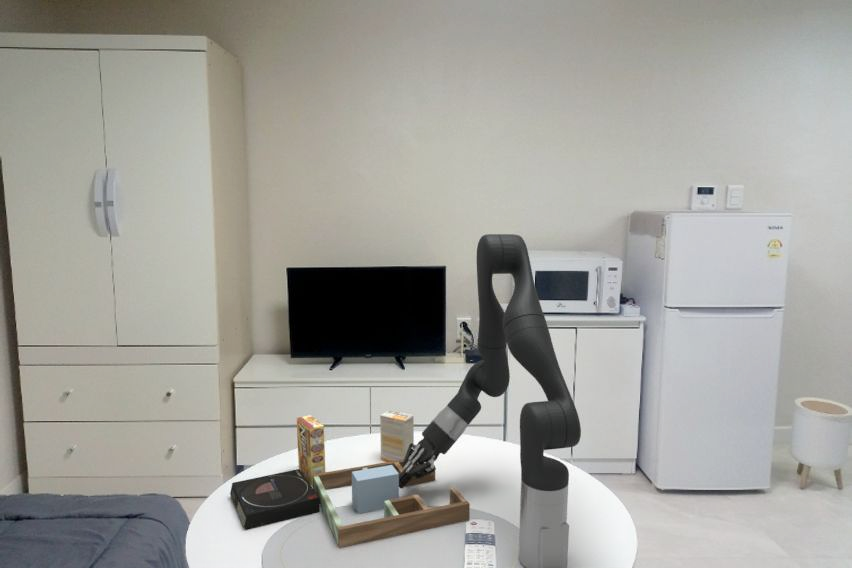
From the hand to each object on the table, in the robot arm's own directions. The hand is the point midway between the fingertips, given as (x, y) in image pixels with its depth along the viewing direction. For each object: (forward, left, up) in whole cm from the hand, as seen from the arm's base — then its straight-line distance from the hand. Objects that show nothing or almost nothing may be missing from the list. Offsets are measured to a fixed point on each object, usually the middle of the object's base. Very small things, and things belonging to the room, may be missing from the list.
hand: (397, 485), depth 149 cm
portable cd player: (+9, +28, -4) cm, 30 cm away
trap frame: (-1, +3, -4) cm, 5 cm away
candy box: (+19, +17, -4) cm, 26 cm away
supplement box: (+21, -7, -4) cm, 22 cm away
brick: (0, +6, -4) cm, 7 cm away
